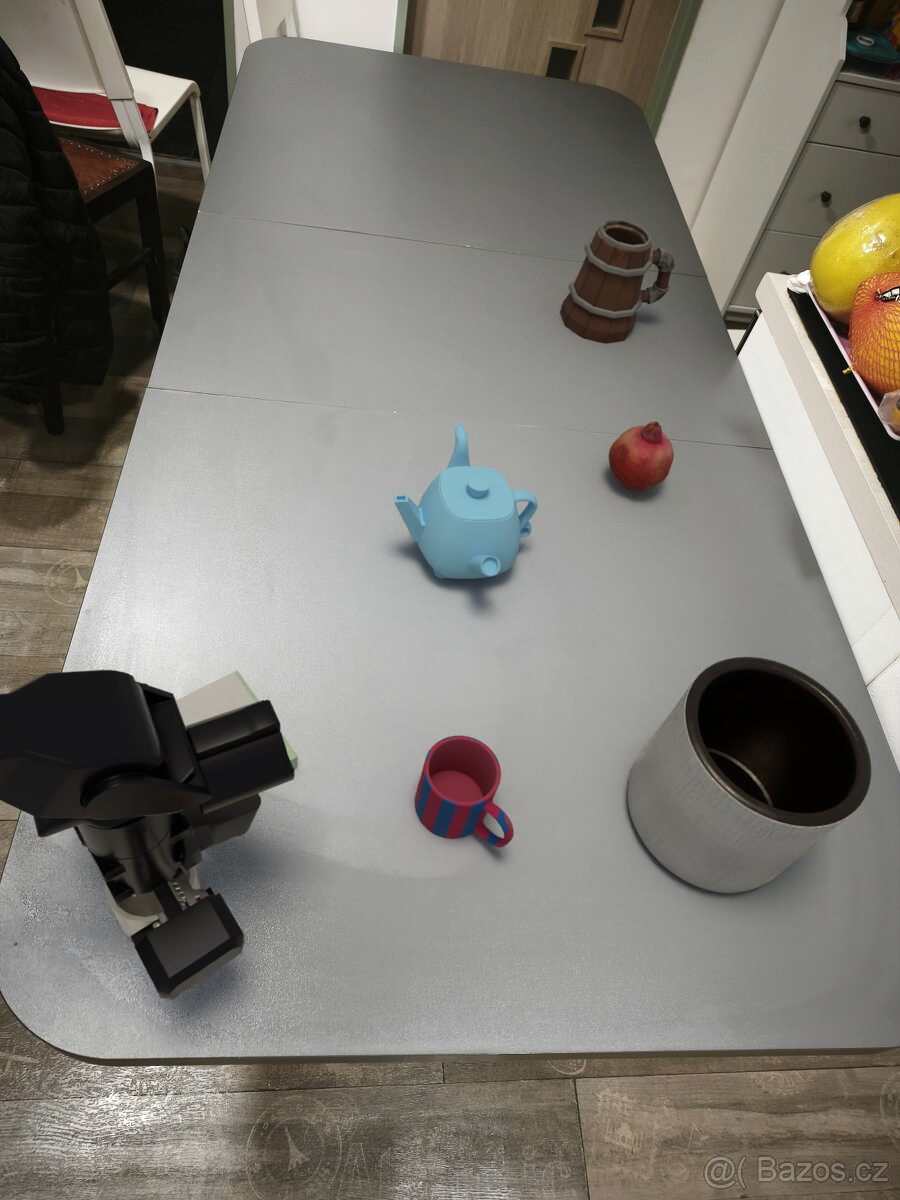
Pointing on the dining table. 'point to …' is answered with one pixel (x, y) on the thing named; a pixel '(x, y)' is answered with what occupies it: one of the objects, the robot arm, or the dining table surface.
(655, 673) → the dining table surface
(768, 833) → the planter
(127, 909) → the ramekin
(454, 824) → the cup
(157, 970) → the robot arm
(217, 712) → the scale
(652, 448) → the fruit
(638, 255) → the mug
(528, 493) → the teapot
